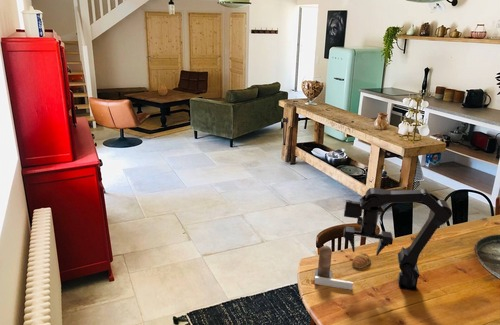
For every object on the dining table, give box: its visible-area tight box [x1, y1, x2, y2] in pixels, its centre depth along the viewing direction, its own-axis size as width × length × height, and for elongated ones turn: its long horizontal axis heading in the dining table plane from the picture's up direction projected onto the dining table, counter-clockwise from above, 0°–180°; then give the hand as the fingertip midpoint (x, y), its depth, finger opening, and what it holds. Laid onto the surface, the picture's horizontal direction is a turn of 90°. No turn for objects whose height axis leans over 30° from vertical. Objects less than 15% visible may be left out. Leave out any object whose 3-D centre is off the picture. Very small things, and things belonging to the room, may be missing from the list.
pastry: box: [351, 252, 372, 269], centre depth 178 cm, size 9×7×4 cm
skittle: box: [317, 245, 333, 278], centre depth 168 cm, size 5×5×14 cm
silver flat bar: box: [314, 275, 354, 291], centre depth 163 cm, size 15×1×3 cm, turn 76°
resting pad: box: [313, 267, 333, 280], centre depth 170 cm, size 7×7×1 cm
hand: (365, 253), depth 165 cm, fingers open, 9 cm apart
